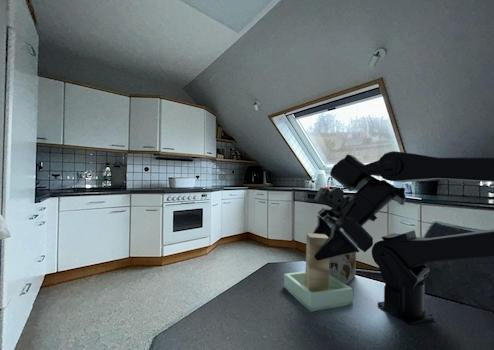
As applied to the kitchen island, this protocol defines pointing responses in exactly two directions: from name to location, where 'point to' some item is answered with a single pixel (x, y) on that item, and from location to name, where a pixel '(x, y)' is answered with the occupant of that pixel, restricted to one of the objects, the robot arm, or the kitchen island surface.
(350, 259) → the coffee box
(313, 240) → the oak block
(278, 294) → the kitchen island surface
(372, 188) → the robot arm
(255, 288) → the kitchen island surface
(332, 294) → the tray
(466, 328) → the kitchen island surface
